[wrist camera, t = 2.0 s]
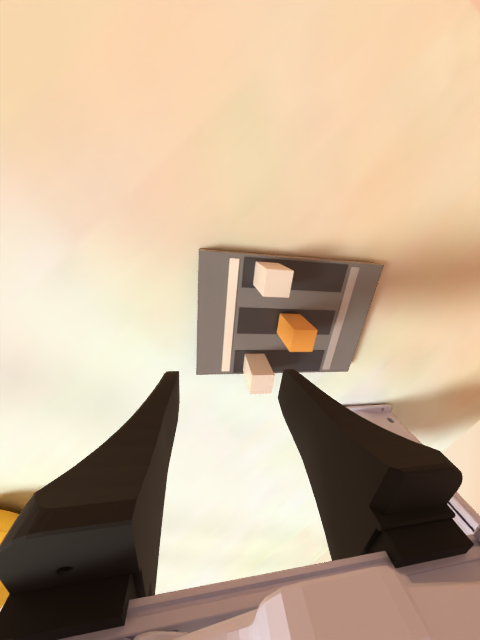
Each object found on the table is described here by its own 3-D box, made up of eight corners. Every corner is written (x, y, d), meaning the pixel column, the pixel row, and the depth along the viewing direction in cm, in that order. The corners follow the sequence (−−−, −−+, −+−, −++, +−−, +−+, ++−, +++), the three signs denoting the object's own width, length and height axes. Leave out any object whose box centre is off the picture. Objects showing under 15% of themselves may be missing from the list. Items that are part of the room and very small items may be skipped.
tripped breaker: (300, 313, 21) (317, 330, 18) (295, 333, 22) (312, 351, 19) (279, 313, 21) (294, 329, 17) (276, 332, 21) (289, 351, 18)
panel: (373, 262, 22) (417, 272, 17) (340, 364, 27) (369, 393, 22) (199, 248, 19) (198, 256, 14) (196, 366, 24) (195, 400, 19)
